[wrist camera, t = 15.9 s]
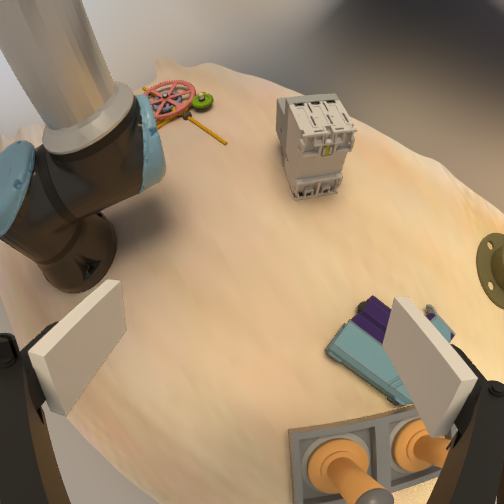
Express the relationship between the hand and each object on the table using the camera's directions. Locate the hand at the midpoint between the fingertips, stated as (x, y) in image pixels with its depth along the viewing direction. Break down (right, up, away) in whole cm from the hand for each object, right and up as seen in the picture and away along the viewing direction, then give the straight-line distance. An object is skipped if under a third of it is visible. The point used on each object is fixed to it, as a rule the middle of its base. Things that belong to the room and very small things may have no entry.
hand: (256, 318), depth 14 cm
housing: (+17, -25, +21) cm, 37 cm away
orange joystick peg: (+11, -25, +20) cm, 34 cm away
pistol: (+20, -10, +27) cm, 36 cm away
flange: (+47, -1, +30) cm, 56 cm away
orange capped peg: (+23, -24, +19) cm, 39 cm away
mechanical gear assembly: (-16, +32, +47) cm, 59 cm away
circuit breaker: (+9, +18, +40) cm, 44 cm away
